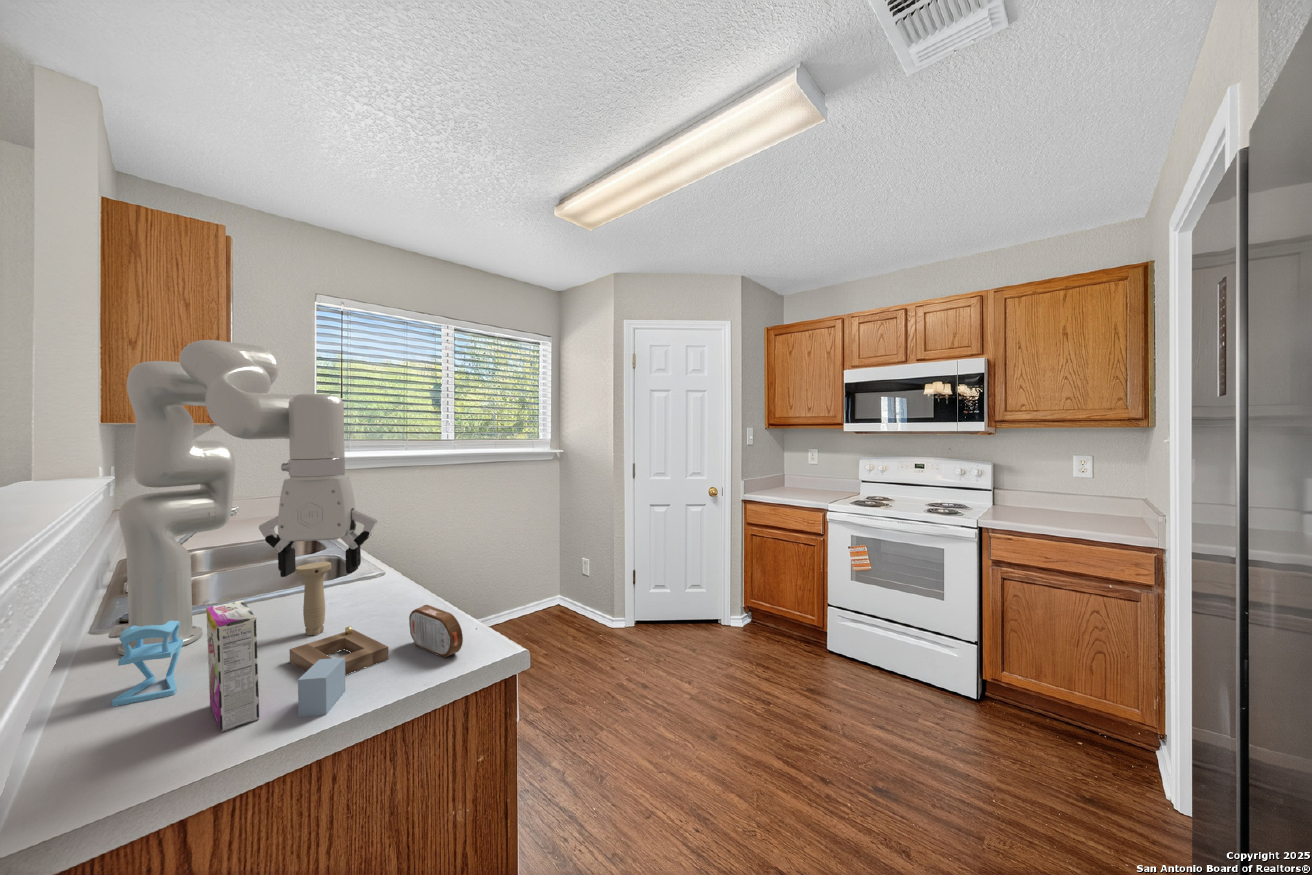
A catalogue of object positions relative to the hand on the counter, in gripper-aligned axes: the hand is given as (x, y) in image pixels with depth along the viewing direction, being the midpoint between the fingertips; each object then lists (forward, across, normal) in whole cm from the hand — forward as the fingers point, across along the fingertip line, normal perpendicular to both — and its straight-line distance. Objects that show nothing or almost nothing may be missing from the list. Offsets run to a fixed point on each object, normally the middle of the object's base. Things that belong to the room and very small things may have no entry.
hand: (320, 572), depth 83 cm
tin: (+22, +13, +17) cm, 30 cm away
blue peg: (+22, 0, -1) cm, 22 cm away
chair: (+21, -31, +9) cm, 39 cm away
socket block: (+21, -4, +15) cm, 26 cm away
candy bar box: (+22, -12, -1) cm, 25 cm away
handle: (+21, -15, +30) cm, 40 cm away
